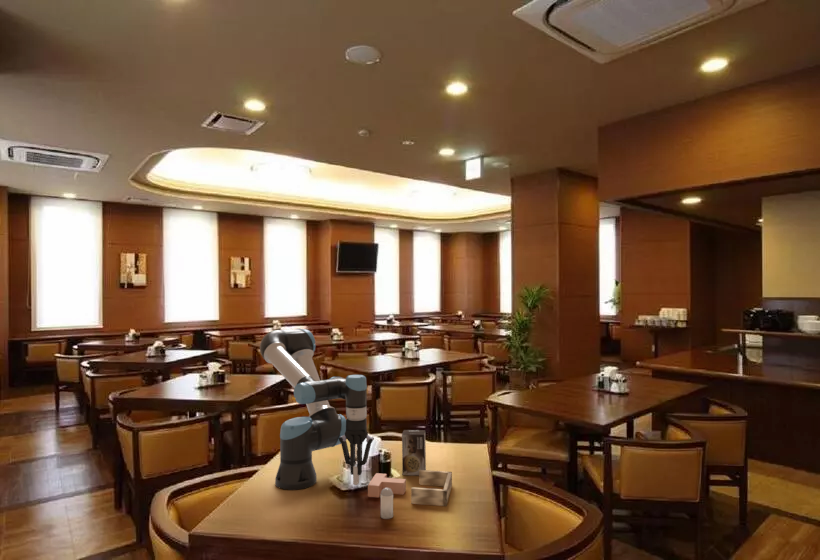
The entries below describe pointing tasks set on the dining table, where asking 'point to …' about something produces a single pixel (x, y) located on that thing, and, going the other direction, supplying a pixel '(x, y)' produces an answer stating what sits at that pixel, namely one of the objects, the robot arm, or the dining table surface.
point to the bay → (432, 495)
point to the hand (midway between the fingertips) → (356, 483)
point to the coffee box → (413, 452)
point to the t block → (385, 485)
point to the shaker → (386, 503)
